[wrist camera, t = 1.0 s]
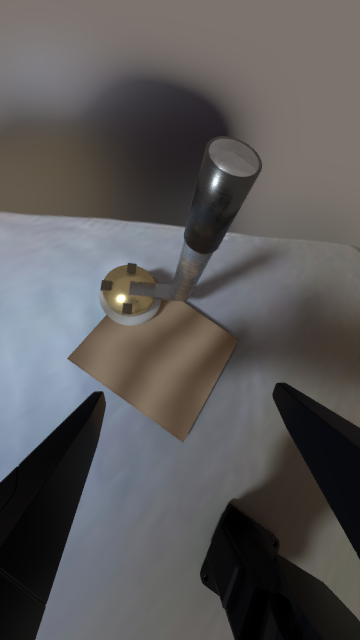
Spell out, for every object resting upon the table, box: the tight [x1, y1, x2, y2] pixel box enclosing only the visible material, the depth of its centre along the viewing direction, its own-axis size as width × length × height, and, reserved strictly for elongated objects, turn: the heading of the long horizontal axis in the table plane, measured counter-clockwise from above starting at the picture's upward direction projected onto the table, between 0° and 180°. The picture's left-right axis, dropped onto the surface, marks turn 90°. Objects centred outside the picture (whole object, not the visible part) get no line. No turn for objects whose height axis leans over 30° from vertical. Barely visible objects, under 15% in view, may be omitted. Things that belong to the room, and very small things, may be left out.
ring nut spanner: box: [101, 136, 262, 317], centre depth 15 cm, size 10×6×16 cm, turn 89°
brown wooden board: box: [67, 277, 238, 442], centre depth 22 cm, size 19×14×2 cm
